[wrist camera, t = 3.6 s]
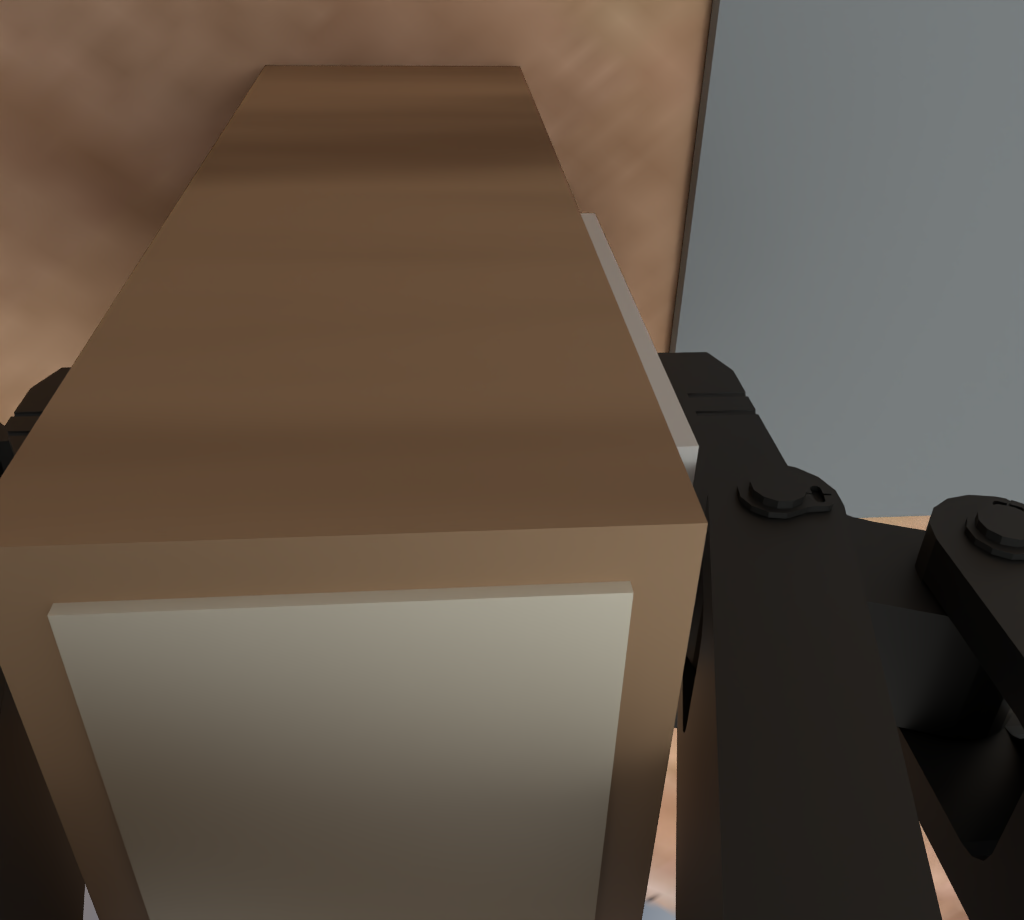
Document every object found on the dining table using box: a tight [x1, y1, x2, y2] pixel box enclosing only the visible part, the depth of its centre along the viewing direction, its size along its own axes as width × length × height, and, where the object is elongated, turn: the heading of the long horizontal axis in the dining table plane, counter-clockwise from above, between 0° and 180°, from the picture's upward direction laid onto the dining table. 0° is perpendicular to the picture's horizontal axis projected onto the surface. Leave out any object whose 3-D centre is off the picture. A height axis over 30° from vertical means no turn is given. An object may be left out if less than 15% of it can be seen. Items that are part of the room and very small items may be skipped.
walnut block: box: [0, 65, 708, 920], centre depth 12 cm, size 6×4×12 cm, turn 179°
